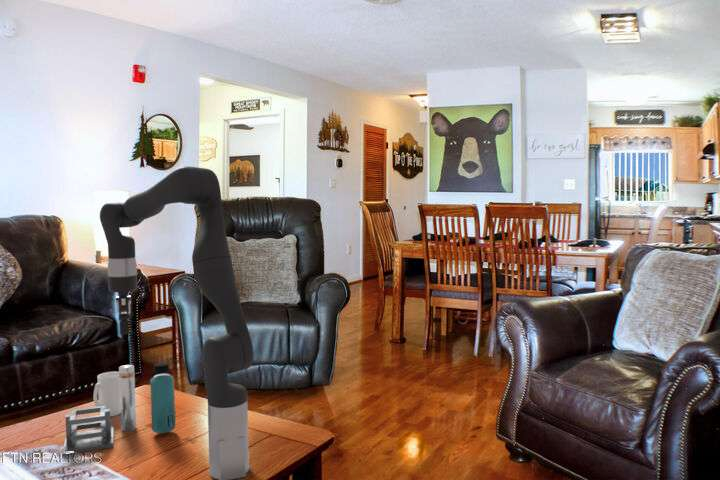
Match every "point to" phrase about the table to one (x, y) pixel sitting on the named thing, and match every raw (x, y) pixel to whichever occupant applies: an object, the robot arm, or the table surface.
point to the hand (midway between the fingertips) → (124, 330)
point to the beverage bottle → (162, 400)
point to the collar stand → (88, 438)
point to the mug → (108, 392)
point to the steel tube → (127, 397)
